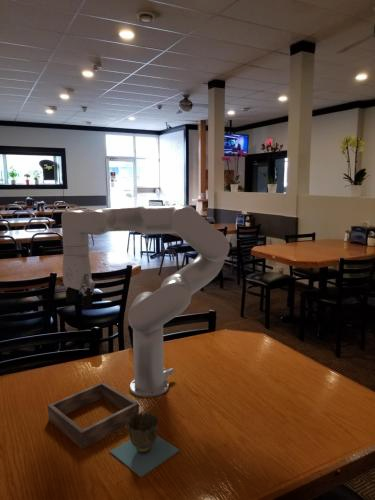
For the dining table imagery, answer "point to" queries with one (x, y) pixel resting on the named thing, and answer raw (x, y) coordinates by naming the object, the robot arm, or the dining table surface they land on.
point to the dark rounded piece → (143, 431)
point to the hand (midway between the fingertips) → (79, 304)
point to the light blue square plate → (144, 455)
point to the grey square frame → (99, 428)
